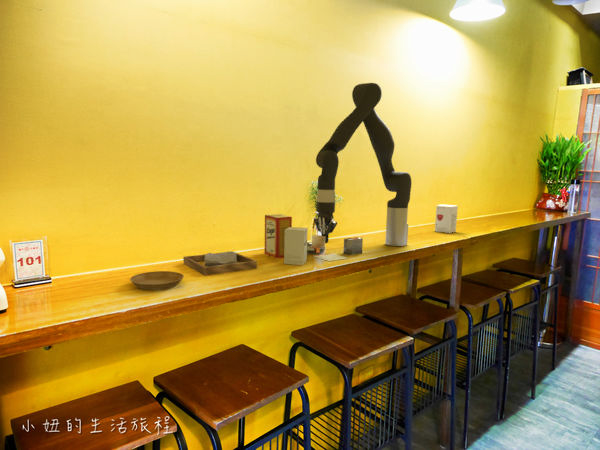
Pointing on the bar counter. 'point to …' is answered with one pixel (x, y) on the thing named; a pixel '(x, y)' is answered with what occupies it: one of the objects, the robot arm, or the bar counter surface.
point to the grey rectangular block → (353, 245)
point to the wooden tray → (243, 265)
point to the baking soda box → (276, 234)
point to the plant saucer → (156, 280)
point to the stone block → (220, 258)
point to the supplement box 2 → (446, 218)
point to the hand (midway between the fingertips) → (324, 242)
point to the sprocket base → (315, 253)
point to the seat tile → (330, 257)
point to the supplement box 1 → (295, 246)
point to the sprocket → (316, 244)
